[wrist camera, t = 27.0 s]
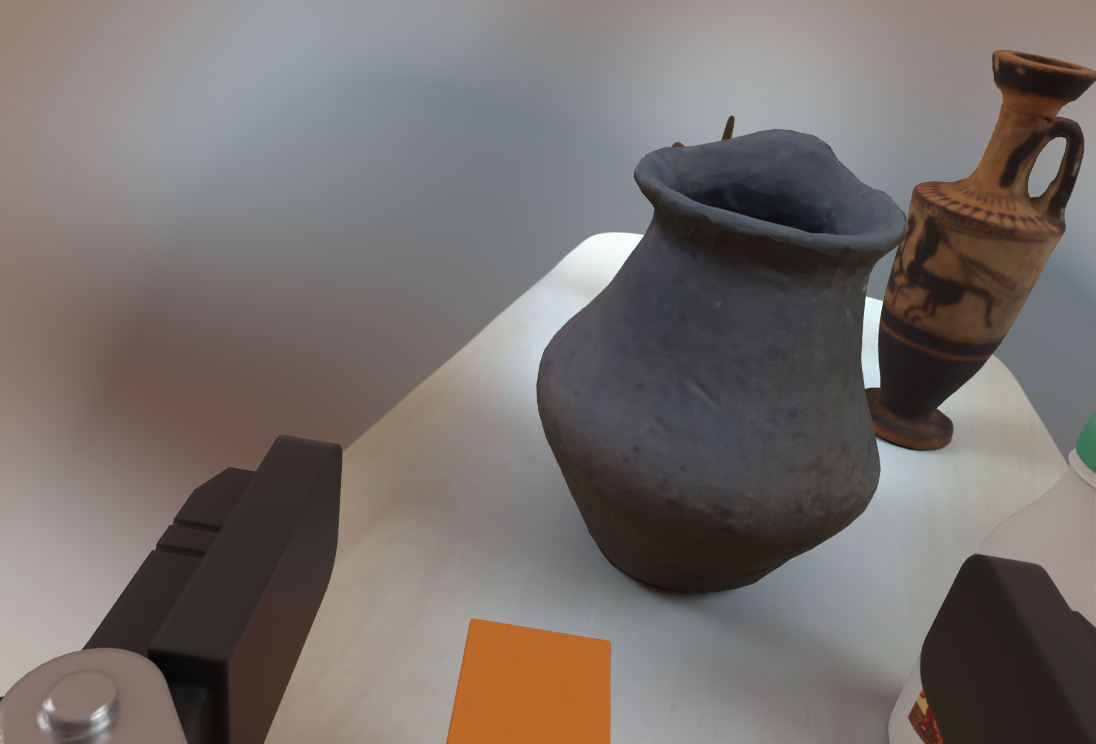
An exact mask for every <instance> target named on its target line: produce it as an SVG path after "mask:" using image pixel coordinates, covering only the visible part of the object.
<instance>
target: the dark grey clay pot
mask: <svg viewBox="0 0 1096 744" xmlns="http://www.w3.org/2000/svg"><path fill="white" fill-rule="evenodd" d="M634 178H635V181H636V182H637V184H638V186H639V188H640V190H641V192H642V193H643V194H644V195H645V197H646V198H647V199H648V200H649V201H650V202H651V204H652V205H653V207H654V208H655V209H654V214H653V219H652V221H651V223H650V225H649V227H648V229H647V231H646V234H645V235H644V236H643V238H642V239H641V241H640V242H639V244H638V245H637V246H636V248H635V249H634V250H633V251H632V253H631V254H630V256H629V257H628V258H627V260H626V261H625V263H624V264H623V266H622V267H621V269H620V270H619V271H618V273H617V274H616V276H615V277H614V278H613V280H612V281H611V282H610V284H609V285H608V286H607V287H606V288H605V289H604V290H603V291H602V292H601V293H600V294H599V295H598V296H597V297H596V298H594V299H593V300H592V301H591V302H590V303H589V304H588V305H587V306H586V307H584V308H583V309H582V310H581V311H580V312H578V313H577V314H576V315H575V316H573V317H572V318H571V319H570V320H569V321H568V322H567V323H566V324H565V325H564V326H563V327H562V328H561V329H560V330H559V331H558V332H557V333H556V334H555V335H554V337H553V338H552V339H551V341H550V342H549V344H548V345H547V347H546V348H545V350H544V352H543V355H542V358H541V361H540V365H539V372H538V379H537V385H536V387H537V404H538V410H539V415H540V418H541V421H542V425H543V429H544V433H545V436H546V439H547V441H548V443H549V445H550V447H551V449H552V451H553V454H554V456H555V458H556V460H557V462H558V464H559V466H560V468H561V471H562V474H563V476H564V478H565V480H566V483H567V485H568V487H569V490H570V492H571V494H572V496H573V498H574V500H575V502H576V504H577V506H578V508H579V510H580V513H581V515H582V517H583V519H584V521H585V523H586V525H587V528H588V530H589V533H590V534H591V536H592V537H593V539H594V540H595V542H596V543H597V545H598V547H599V548H600V550H601V552H602V553H603V554H604V556H605V557H606V558H607V559H608V560H609V562H610V563H611V564H612V565H613V566H615V567H616V568H618V569H620V570H621V571H623V572H624V573H626V574H627V575H629V576H631V577H633V578H635V579H637V580H640V581H643V582H646V583H648V584H651V585H654V586H657V587H660V588H664V589H671V590H678V591H687V592H696V593H709V592H719V591H725V590H732V589H736V588H740V587H743V586H747V585H750V584H753V583H755V582H757V581H758V580H760V579H761V578H763V577H764V576H766V575H767V574H769V573H770V572H772V571H773V570H775V569H776V568H778V567H780V566H781V565H783V564H784V563H786V562H787V561H788V560H790V559H791V558H793V557H796V556H798V555H800V554H802V553H804V552H806V551H808V550H811V549H813V548H814V547H816V546H818V545H819V544H821V543H823V542H824V541H826V540H828V539H829V538H831V537H833V536H834V535H836V534H837V533H839V532H840V531H842V530H843V529H845V528H846V527H847V526H849V525H850V524H851V523H852V522H853V521H854V520H855V519H856V518H857V517H859V516H860V515H861V514H862V513H863V512H864V511H865V509H866V508H867V506H868V504H869V503H870V501H871V499H872V497H873V495H874V493H875V491H876V489H877V486H878V482H879V477H880V459H879V453H878V447H877V442H876V437H875V431H874V426H873V421H872V417H871V413H870V409H869V405H868V401H867V397H866V394H865V388H864V380H863V372H862V364H861V351H862V333H863V317H864V308H865V298H866V291H867V285H868V280H869V275H870V273H871V271H872V269H873V267H874V265H875V264H876V263H877V261H878V260H879V259H881V258H882V257H883V256H885V255H886V254H887V253H888V252H890V251H891V250H893V249H894V248H895V247H896V246H898V245H899V244H900V243H901V242H902V239H903V237H904V235H905V233H906V231H907V229H906V220H907V219H906V216H905V213H904V212H903V211H902V210H901V209H900V208H899V207H898V206H897V204H896V203H895V202H894V201H893V200H892V198H891V197H890V196H888V195H887V194H886V193H884V192H882V191H879V190H876V189H873V188H871V187H869V186H867V185H865V184H864V183H862V182H860V181H859V180H858V179H857V177H856V176H855V175H854V174H853V173H851V171H849V170H848V169H847V168H846V167H845V166H844V165H843V164H842V163H841V162H840V161H838V159H837V158H836V156H835V154H834V152H833V151H832V149H831V147H830V146H829V145H828V144H826V143H825V142H824V141H822V140H820V139H819V138H817V137H816V136H814V135H809V134H805V133H799V132H795V131H792V130H781V129H772V130H765V131H759V132H756V133H752V134H748V135H744V136H740V137H736V138H731V139H727V140H723V141H719V142H713V143H708V144H703V145H697V146H689V147H666V148H662V149H659V150H656V151H653V152H650V153H648V154H646V155H645V157H643V158H642V159H641V160H640V162H639V163H638V165H637V167H636V169H635V171H634Z"/></svg>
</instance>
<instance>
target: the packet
mask: <svg viewBox="0 0 1096 744" xmlns="http://www.w3.org/2000/svg"><path fill="white" fill-rule="evenodd" d="M610 659H611V644H610V641H606V640H600V639H594V638H588V637H582V636H575V635H569V634H563V633H557V632H551V631H545V630H539V629H533V628H527V627H521V626H515V625H509V624H503V623H497V622H491V621H485V620H479V619H471V620H470V625H469V630H468V635H467V640H466V645H465V650H464V655H463V660H462V666H461V671H460V676H459V681H458V686H457V691H456V696H455V701H454V706H453V711H452V717H451V722H450V727H449V732H448V737H447V742H446V744H610Z"/></svg>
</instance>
